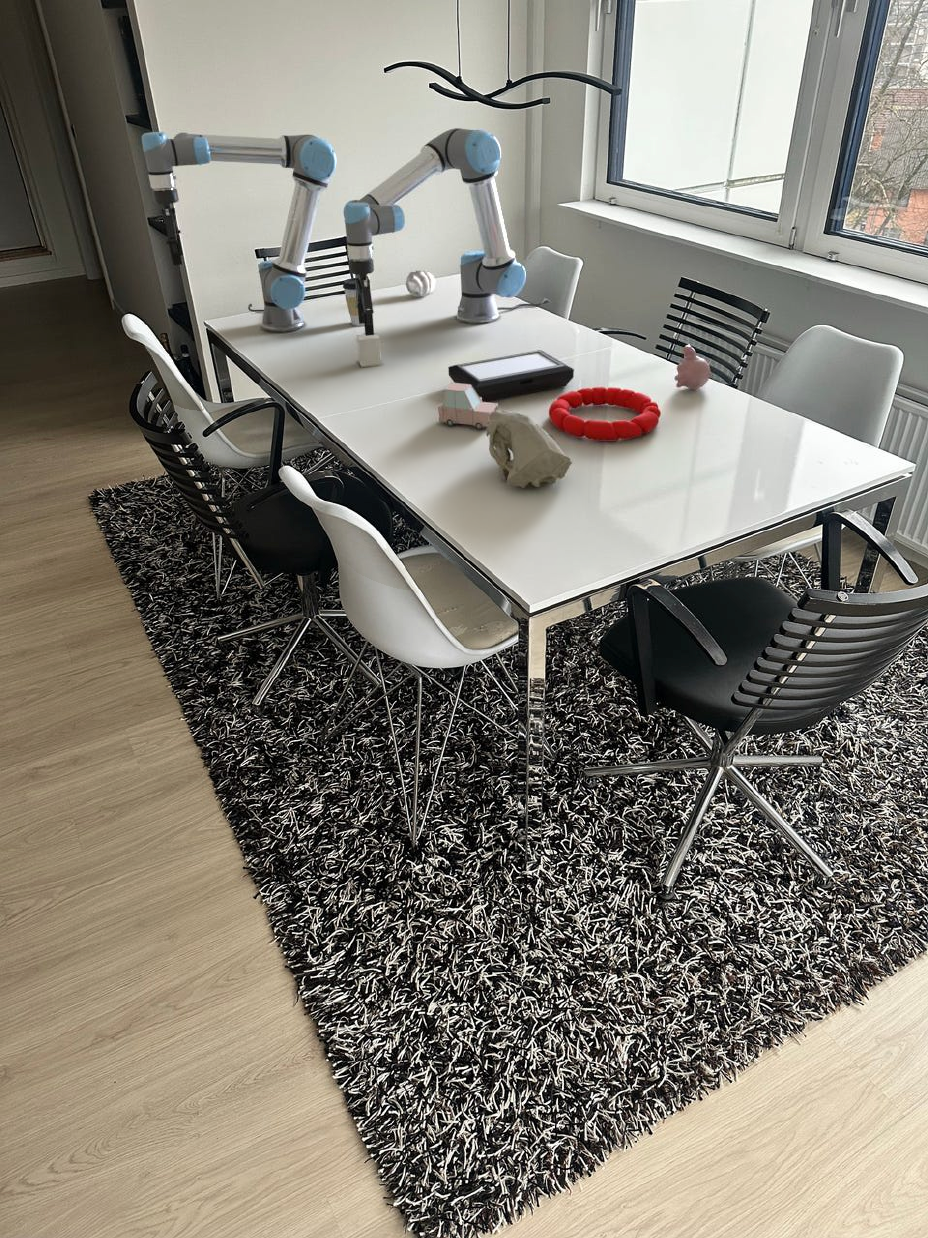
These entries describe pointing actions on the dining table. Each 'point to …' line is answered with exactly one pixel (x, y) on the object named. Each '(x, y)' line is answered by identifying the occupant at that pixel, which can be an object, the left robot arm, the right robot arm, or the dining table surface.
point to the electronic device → (512, 374)
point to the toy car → (465, 406)
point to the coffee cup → (352, 300)
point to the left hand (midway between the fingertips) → (178, 259)
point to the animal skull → (525, 450)
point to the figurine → (692, 370)
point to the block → (368, 350)
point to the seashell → (420, 283)
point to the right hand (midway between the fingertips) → (366, 329)
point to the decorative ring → (604, 428)
